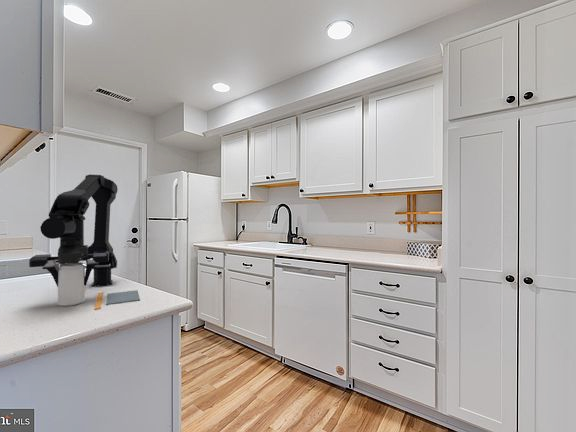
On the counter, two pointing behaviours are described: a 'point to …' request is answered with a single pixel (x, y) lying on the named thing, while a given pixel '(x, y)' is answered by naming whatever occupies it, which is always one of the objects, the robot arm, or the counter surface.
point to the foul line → (98, 301)
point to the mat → (122, 297)
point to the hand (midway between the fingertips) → (72, 286)
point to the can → (71, 284)
